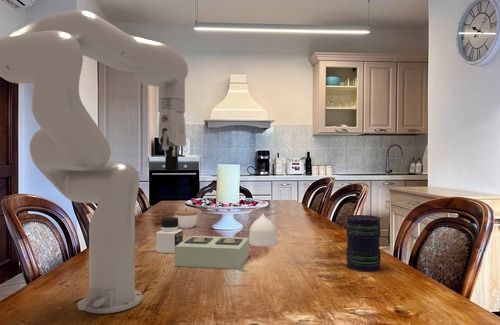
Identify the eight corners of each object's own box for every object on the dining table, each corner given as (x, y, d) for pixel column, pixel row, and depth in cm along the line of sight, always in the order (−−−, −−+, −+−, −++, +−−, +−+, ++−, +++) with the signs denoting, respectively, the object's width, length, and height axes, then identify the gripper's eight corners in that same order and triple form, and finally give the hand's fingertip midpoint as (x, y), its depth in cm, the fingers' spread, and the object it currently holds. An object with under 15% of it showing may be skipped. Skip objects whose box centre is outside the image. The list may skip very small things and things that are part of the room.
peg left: (202, 261, 116) (202, 240, 116) (191, 260, 116) (191, 240, 116) (206, 258, 119) (205, 238, 119) (195, 257, 120) (195, 237, 120)
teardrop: (266, 239, 150) (266, 209, 150) (282, 244, 141) (282, 212, 141) (243, 242, 144) (243, 211, 144) (259, 247, 135) (259, 215, 135)
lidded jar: (201, 227, 178) (201, 207, 178) (186, 230, 168) (186, 210, 168) (185, 225, 183) (185, 206, 183) (169, 228, 174) (169, 208, 174)
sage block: (239, 269, 107) (239, 247, 107) (175, 266, 111) (175, 244, 111) (249, 255, 123) (249, 236, 123) (192, 253, 126) (192, 234, 126)
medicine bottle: (175, 253, 126) (175, 218, 126) (155, 252, 127) (155, 218, 127) (183, 248, 133) (182, 215, 133) (164, 248, 134) (164, 215, 134)
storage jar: (357, 273, 103) (357, 220, 103) (339, 264, 112) (339, 215, 112) (388, 270, 106) (387, 219, 106) (368, 261, 115) (368, 214, 115)
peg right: (233, 262, 114) (233, 241, 114) (222, 261, 114) (222, 241, 114) (236, 259, 117) (235, 239, 117) (225, 258, 118) (225, 238, 118)
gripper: (174, 102, 97) (174, 171, 97) (192, 110, 112) (192, 170, 112) (148, 103, 99) (148, 171, 99) (169, 111, 113) (169, 170, 113)
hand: (171, 170), depth 105 cm, fingers closed
